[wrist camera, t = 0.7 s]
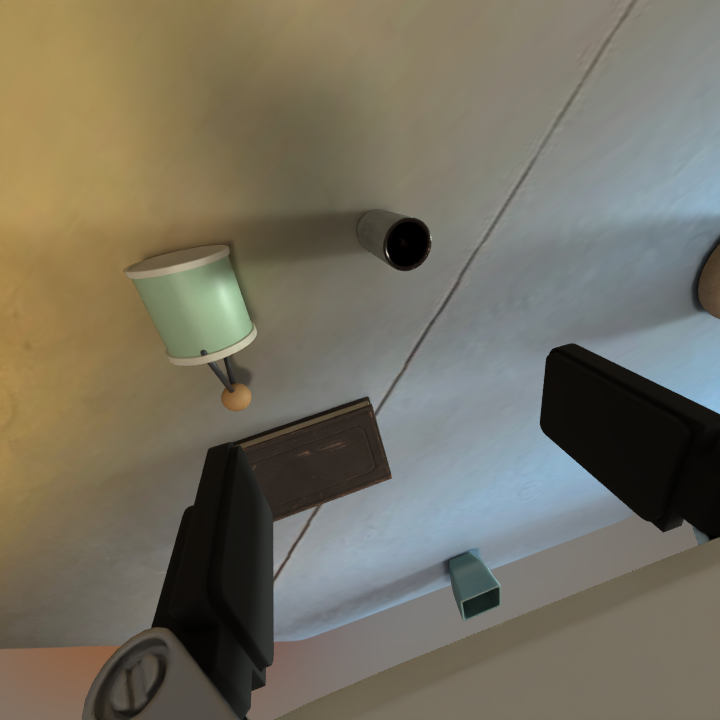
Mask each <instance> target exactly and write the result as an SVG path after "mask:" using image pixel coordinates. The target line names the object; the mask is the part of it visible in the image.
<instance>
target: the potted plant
mask: <svg viewBox="0 0 720 720" xmlns="http://www.w3.org/2000/svg"><path fill="white" fill-rule="evenodd" d="M698 296H699V300H700V303H701V305H702V306H703V307H704V309H705V310H706V311H707V312H708V313H709V314H711V315H712V316H714V317H716V318H718V319H720V244H719V245H718V246H717V247H716V248H715V250H714V251H713V253H712V254H711V255H710V257H709V258H708V260H707V262H706V264H705V266H704V268H703V270H702V273H701V276H700V279H699V286H698Z"/></svg>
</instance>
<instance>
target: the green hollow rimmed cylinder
mask: <svg viewBox="0 0 720 720" xmlns="http://www.w3.org/2000/svg"><path fill="white" fill-rule="evenodd" d="M229 254H230V250H229V247H228V246H227V245H209V246H202V247H196V248H190V249H185V250H180V251H176V252H172V253H168V254H164V255H160V256H156V257H153V258H150V259H146V260H143V261H140V262H138V263H135V264H133V265H130V266H129V267H127V268H125V269H124V273H125V275H126V277H127V278H129V279H132V280H133V282H134V284H135V286H136V288H137V290H138V292H139V294H140V296H141V298H142V300H143V302H144V304H145V306H146V308H147V310H148V312H149V314H150V316H151V318H152V320H153V322H154V324H155V326H156V328H157V330H158V332H159V334H160V336H161V338H162V340H163V342H164V344H165V346H166V351H165V353H166V356H167V358H168V360H169V361H170V362H171V363H172V364H175V365H179V366H193V365H200V364H205V363H208V365H209V366H210V367H211V369H212V370H213V371H214V373H215V374H216V375H217V376H218V378H219V379H220V380H221V382H222V383H223V384H224V386H225V387H226V388H225V389H224V391H223V393H222V402H223V404H224V406H225V407H226V408H227V409H229V410H232V411H240V410H243V409H245V408H246V407H247V406H248V405H249V403H250V401H251V392H250V390H249V389H248V387H246V386H245V385H243V384H240V383H236V382H235V378H234V374H233V371H232V367H231V363H230V359H229V355H232V354H234V353H236V352H238V351H240V350H241V349H243V348H244V347H246V346H247V345H249V344H250V343H251V342H252V341H253V340H254V339H255V337H256V335H257V330H256V327H255V324H254V323H253V322H252V321H250V318H249V315H248V312H247V309H246V307H245V304H244V301H243V298H242V295H241V292H240V289H239V286H238V283H237V280H236V277H235V275H234V272H233V269H232V266H231V263H230V260H229V257H228V255H229ZM222 358H224V362H225V366H226V370H227V374H228V377H229V381H230V382H229V381H228V380H227V378H226V377H225V376H224V374H223V373H222V371H221V370H220V369H219V367H218V366H217V364H216V363H215V362H214V361H216V360H219V359H222Z"/></svg>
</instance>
